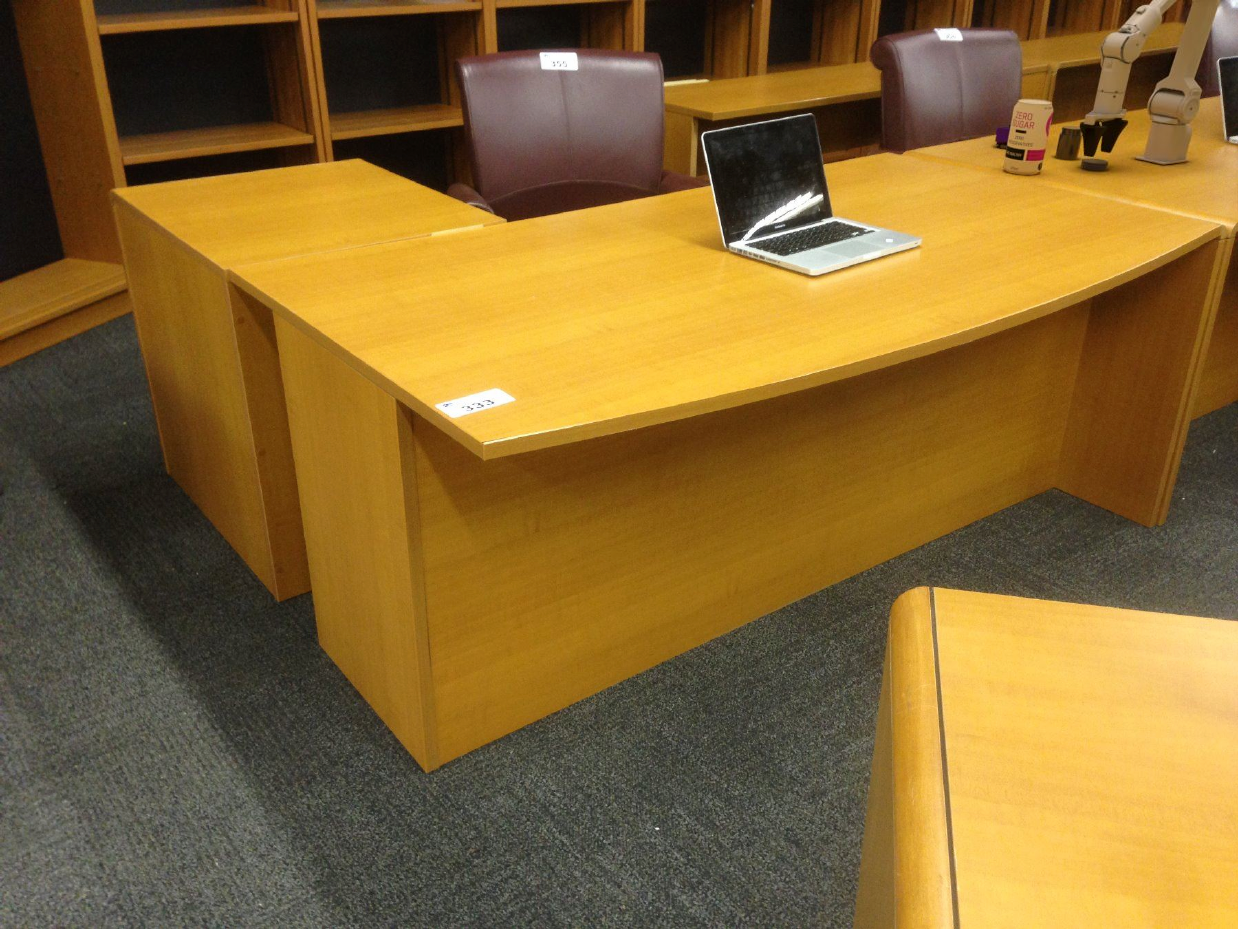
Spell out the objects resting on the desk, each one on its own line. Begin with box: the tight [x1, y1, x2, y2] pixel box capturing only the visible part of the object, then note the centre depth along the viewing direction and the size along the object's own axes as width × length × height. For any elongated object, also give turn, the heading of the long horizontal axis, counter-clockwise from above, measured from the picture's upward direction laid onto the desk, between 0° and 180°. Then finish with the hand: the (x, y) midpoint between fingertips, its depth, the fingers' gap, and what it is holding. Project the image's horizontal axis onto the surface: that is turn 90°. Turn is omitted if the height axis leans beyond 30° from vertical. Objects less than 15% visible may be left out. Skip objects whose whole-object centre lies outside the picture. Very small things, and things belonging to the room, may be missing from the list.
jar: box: [1054, 125, 1083, 161], centre depth 248 cm, size 5×5×7 cm
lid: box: [1080, 157, 1109, 172], centre depth 239 cm, size 6×6×2 cm
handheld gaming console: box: [994, 124, 1011, 150], centre depth 262 cm, size 9×5×15 cm
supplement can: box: [1002, 98, 1054, 176], centre depth 232 cm, size 8×8×15 cm
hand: (1097, 154), depth 238 cm, fingers open, 7 cm apart
